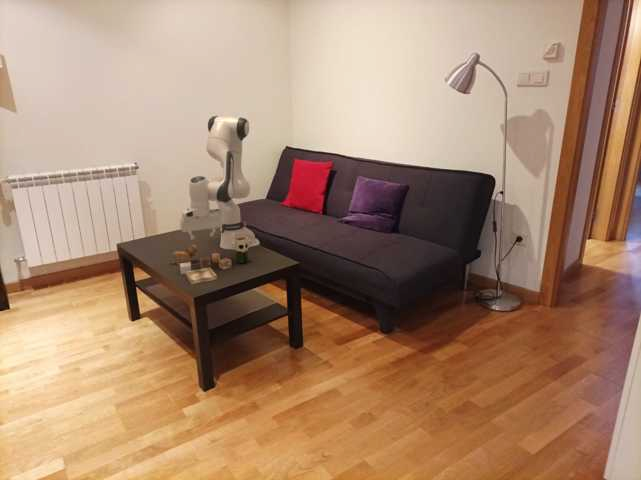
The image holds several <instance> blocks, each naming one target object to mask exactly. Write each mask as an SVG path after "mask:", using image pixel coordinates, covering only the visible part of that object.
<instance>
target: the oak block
mask: <svg viewBox="0 0 641 480" xmlns="http://www.w3.org/2000/svg"><path fill="white" fill-rule="evenodd" d="M218 267H219V268H220V269H222V270H227V269H231V268H232V259H230V258H228V257H225V258H224V257H223V258H220V260H219V263H218Z"/></svg>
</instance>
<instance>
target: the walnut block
mask: <svg viewBox="0 0 641 480" xmlns="http://www.w3.org/2000/svg"><path fill="white" fill-rule="evenodd" d="M211 261H212V258H211V257H209V256H203V257H199V267H200V269H204V268H211V269H212V262H211Z"/></svg>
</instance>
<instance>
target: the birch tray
mask: <svg viewBox="0 0 641 480" xmlns="http://www.w3.org/2000/svg"><path fill="white" fill-rule="evenodd" d="M185 276H186V278H187V279H188V281H189V282H190V284H191V285H195V284H200V283H206V282H211V281H217V280H218V276H217V274H216V273H215V271H214V269H212V267H211V268H204V269H201V268H199V269H193V270H191V271H187V272H186V274H185Z"/></svg>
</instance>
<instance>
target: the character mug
mask: <svg viewBox="0 0 641 480" xmlns="http://www.w3.org/2000/svg"><path fill="white" fill-rule="evenodd" d="M248 242H249V244H248ZM233 245H234V246H235V247H233ZM250 245H251V240H248V237H246V236H238V237H235V238H234V243H232V249H235V250H234V251H236V260H235V261H236V262H237V263H239V264H243V263H244V264H245V263H248V262H249V255H248V250H249V249H250V247H249V246H250ZM232 249H231V250H232Z"/></svg>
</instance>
